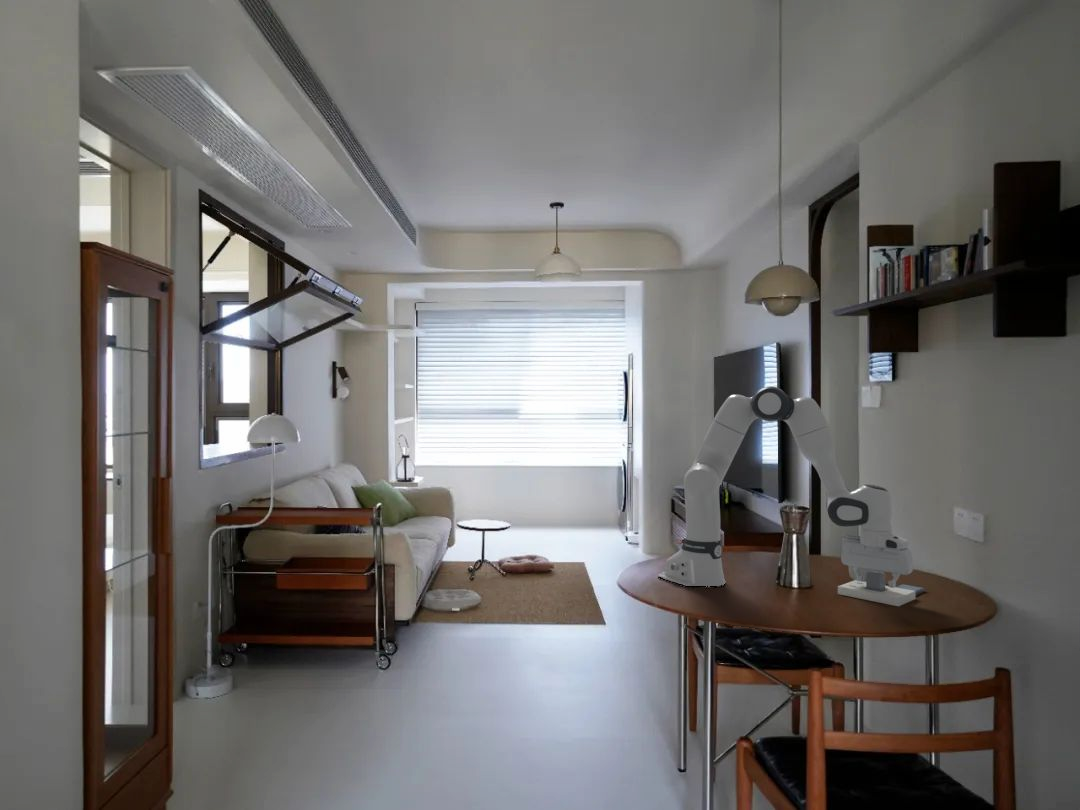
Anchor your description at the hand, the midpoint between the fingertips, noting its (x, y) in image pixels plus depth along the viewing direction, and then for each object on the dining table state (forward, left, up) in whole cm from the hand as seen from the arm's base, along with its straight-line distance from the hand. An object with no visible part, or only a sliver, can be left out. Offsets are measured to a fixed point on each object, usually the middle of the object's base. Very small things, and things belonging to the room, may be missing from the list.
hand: (875, 584), depth 214 cm
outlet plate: (0, 0, -4) cm, 4 cm away
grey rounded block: (-11, +16, -4) cm, 20 cm away
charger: (0, 0, -4) cm, 4 cm away
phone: (+4, +12, -4) cm, 13 cm away
